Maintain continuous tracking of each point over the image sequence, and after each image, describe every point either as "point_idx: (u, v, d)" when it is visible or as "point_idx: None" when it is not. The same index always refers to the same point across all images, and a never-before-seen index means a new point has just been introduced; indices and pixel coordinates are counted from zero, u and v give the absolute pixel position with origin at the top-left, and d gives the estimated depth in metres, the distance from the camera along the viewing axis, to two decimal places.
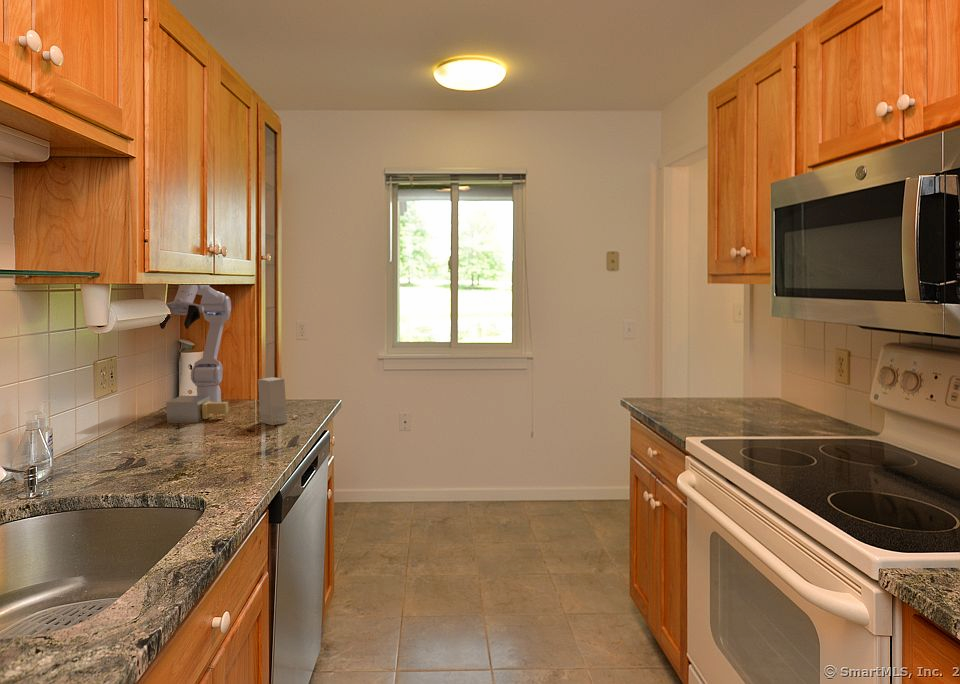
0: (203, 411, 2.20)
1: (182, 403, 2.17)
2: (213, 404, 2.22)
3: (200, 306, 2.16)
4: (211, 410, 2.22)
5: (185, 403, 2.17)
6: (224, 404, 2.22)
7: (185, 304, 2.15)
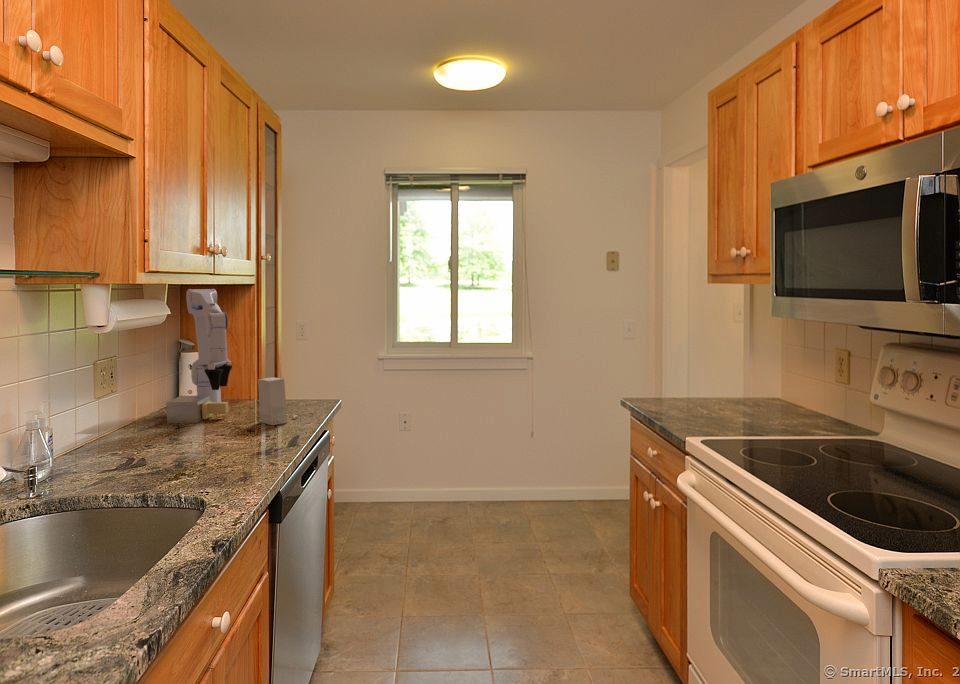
0: (203, 411, 2.20)
1: (182, 403, 2.17)
2: (213, 404, 2.22)
3: (228, 361, 2.29)
4: (211, 410, 2.22)
5: (185, 403, 2.17)
6: (224, 404, 2.22)
7: None
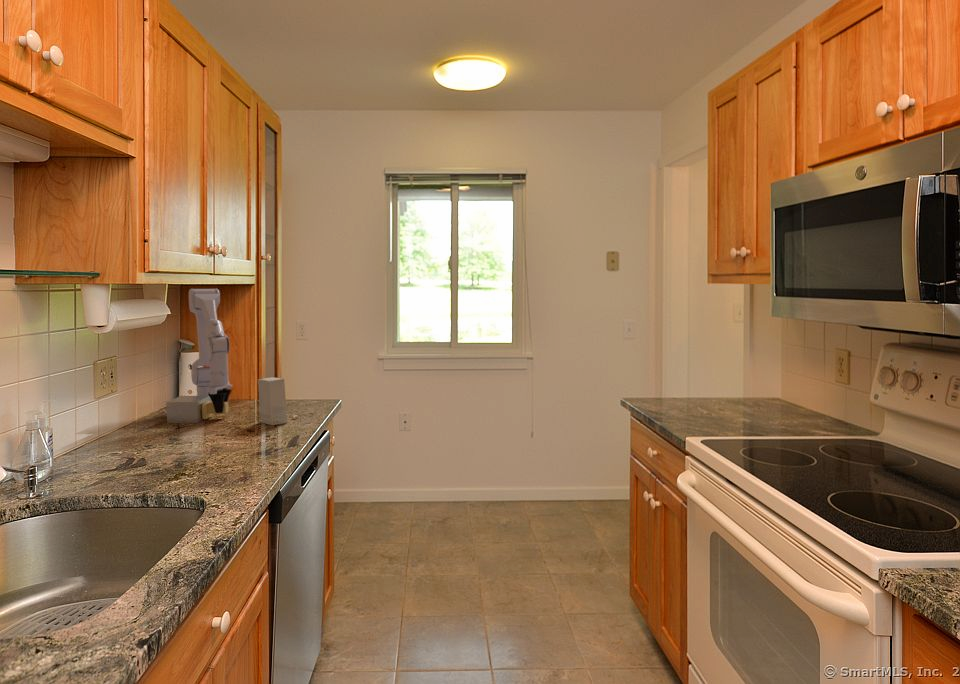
0: (203, 411, 2.20)
1: (182, 403, 2.17)
2: None
3: (229, 384, 2.30)
4: (211, 410, 2.22)
5: (185, 403, 2.17)
6: (224, 404, 2.22)
7: None
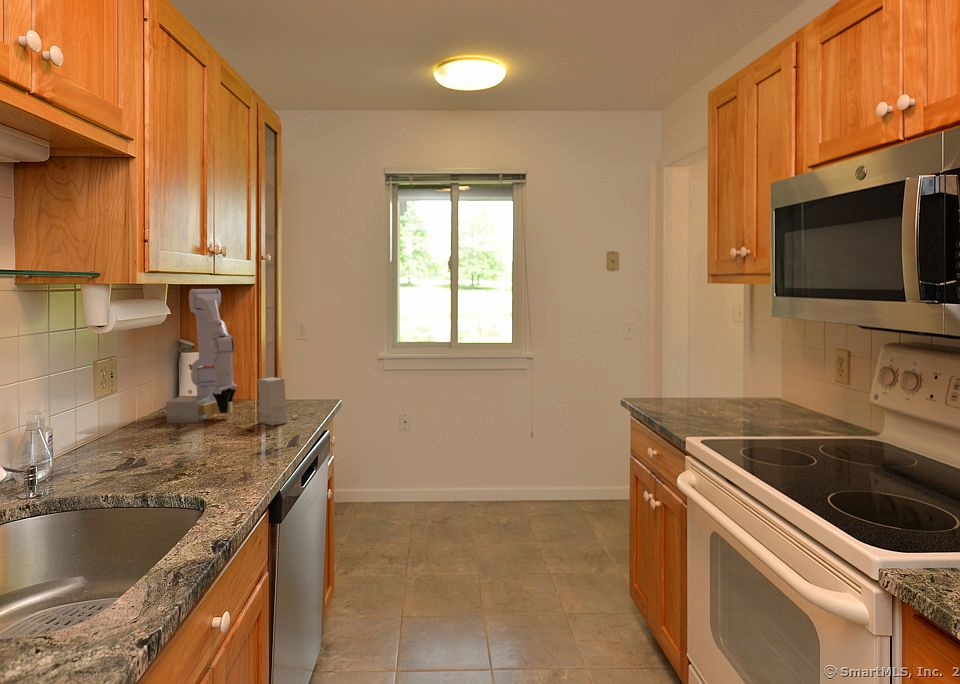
0: (207, 411, 2.21)
1: (182, 403, 2.17)
2: (217, 404, 2.22)
3: None
4: (215, 410, 2.22)
5: (185, 403, 2.17)
6: (228, 404, 2.22)
7: None
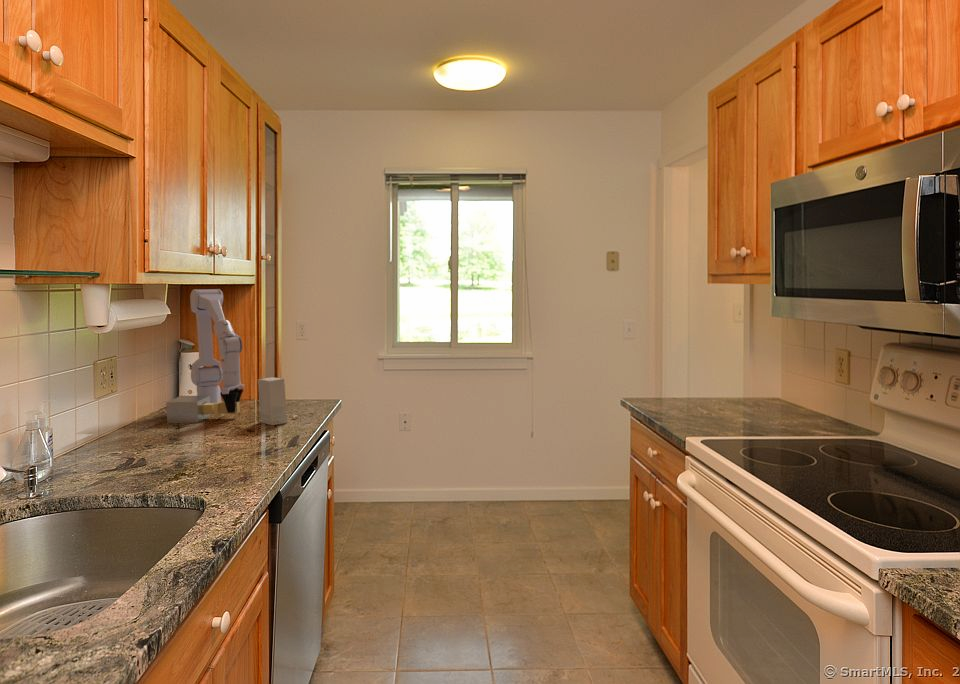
0: (215, 411, 2.21)
1: (182, 403, 2.17)
2: None
3: None
4: (223, 410, 2.22)
5: (185, 403, 2.17)
6: (236, 404, 2.22)
7: None
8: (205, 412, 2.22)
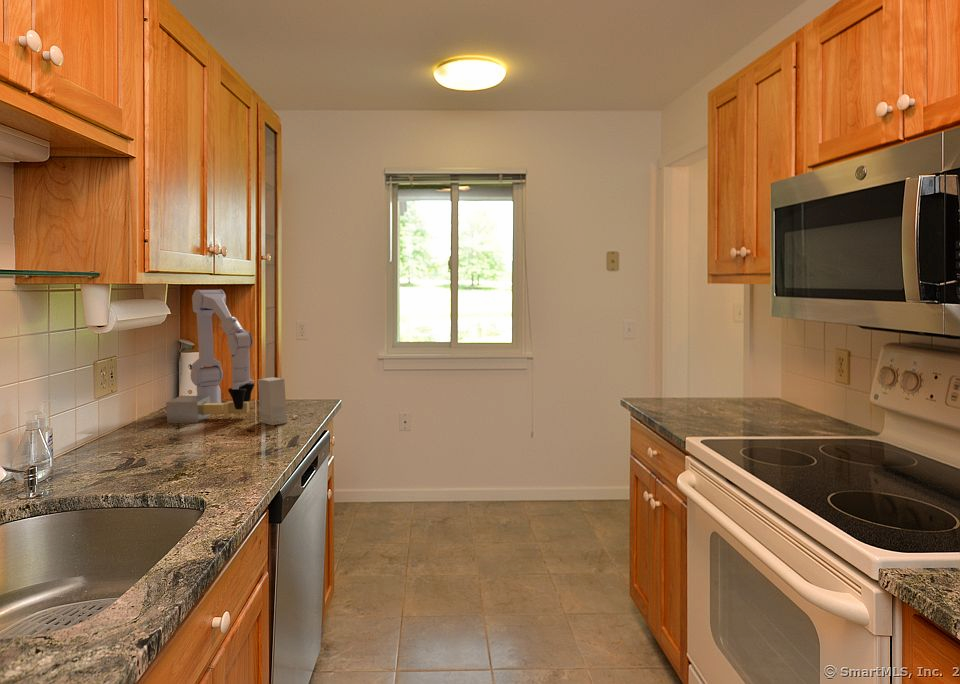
0: (225, 411, 2.21)
1: (182, 403, 2.17)
2: None
3: (250, 379, 2.30)
4: (232, 410, 2.23)
5: (185, 403, 2.17)
6: (245, 404, 2.23)
7: None
8: (215, 412, 2.22)
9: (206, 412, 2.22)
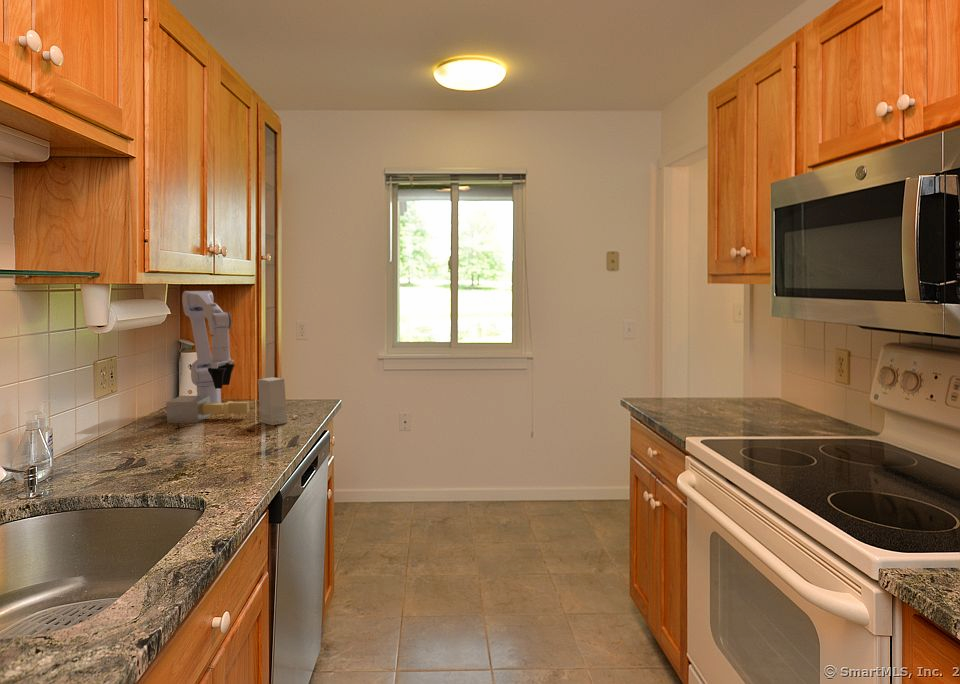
0: (225, 411, 2.21)
1: (182, 403, 2.17)
2: (234, 404, 2.22)
3: None
4: (232, 410, 2.23)
5: (185, 403, 2.17)
6: (245, 404, 2.23)
7: None
8: (215, 412, 2.22)
9: (206, 412, 2.22)
